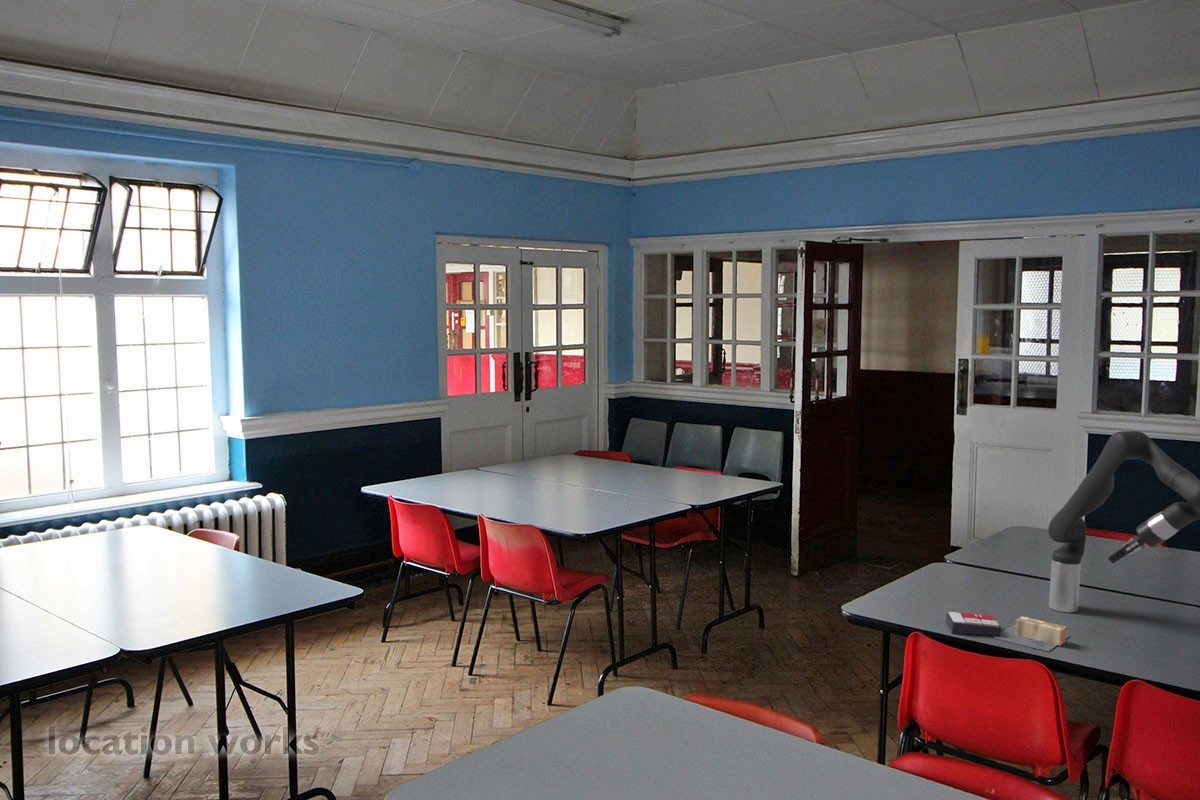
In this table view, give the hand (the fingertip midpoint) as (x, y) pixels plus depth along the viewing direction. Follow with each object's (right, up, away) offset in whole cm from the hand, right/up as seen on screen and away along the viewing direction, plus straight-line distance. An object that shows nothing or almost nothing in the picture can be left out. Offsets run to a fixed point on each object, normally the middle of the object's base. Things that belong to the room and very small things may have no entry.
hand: (1110, 560), depth 304 cm
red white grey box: (-37, -26, +16) cm, 48 cm away
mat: (-20, -27, +10) cm, 35 cm away
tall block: (-13, -25, +4) cm, 28 cm away
